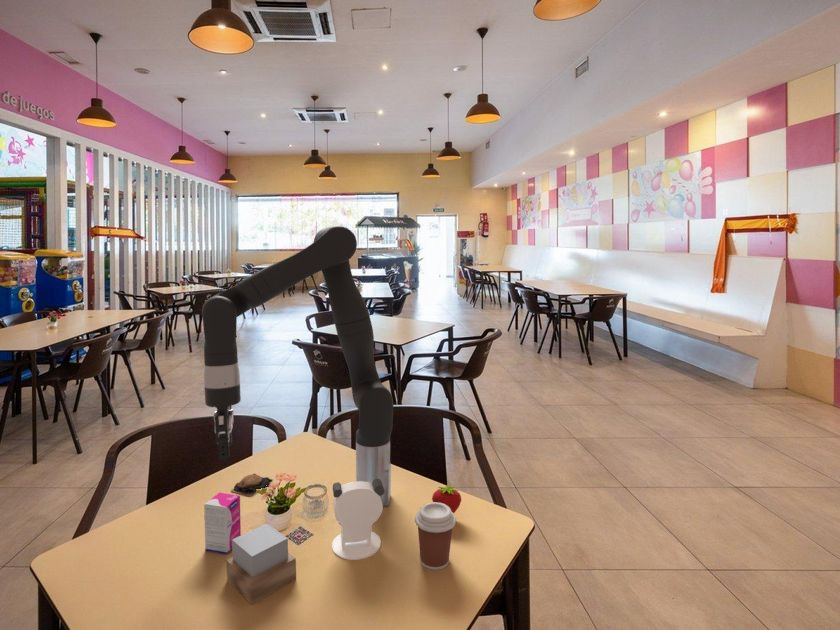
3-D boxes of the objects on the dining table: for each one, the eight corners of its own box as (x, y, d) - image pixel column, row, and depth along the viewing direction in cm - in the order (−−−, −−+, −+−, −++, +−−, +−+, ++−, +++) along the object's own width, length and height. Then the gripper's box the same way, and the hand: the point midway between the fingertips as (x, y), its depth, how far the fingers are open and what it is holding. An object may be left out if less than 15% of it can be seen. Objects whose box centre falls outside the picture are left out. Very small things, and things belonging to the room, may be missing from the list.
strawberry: (431, 511, 126) (431, 476, 125) (459, 512, 126) (460, 476, 125) (432, 524, 120) (432, 487, 119) (461, 524, 120) (463, 487, 119)
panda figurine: (379, 527, 119) (379, 470, 117) (387, 555, 108) (387, 493, 106) (330, 533, 116) (329, 475, 114) (333, 563, 105) (332, 499, 103)
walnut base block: (227, 582, 99) (226, 560, 99) (270, 559, 107) (269, 538, 106) (252, 606, 93) (251, 582, 92) (296, 580, 100) (295, 558, 99)
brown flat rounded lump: (251, 499, 132) (250, 487, 132) (227, 493, 136) (227, 481, 135) (276, 482, 142) (276, 471, 141) (254, 477, 145) (254, 465, 145)
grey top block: (232, 559, 99) (231, 539, 98) (267, 542, 105) (266, 523, 104) (252, 577, 93) (251, 556, 93) (288, 558, 99) (287, 538, 99)
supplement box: (227, 554, 107) (225, 507, 106) (204, 551, 109) (202, 504, 107) (242, 539, 113) (240, 494, 112) (220, 536, 114) (217, 491, 113)
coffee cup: (459, 552, 109) (460, 503, 108) (448, 578, 101) (449, 525, 99) (421, 544, 112) (422, 496, 111) (408, 568, 104) (408, 517, 102)
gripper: (238, 388, 104) (241, 461, 105) (241, 376, 117) (244, 441, 118) (200, 391, 101) (204, 466, 102) (208, 378, 115) (211, 444, 116)
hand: (225, 452), depth 110 cm, fingers open, 8 cm apart
